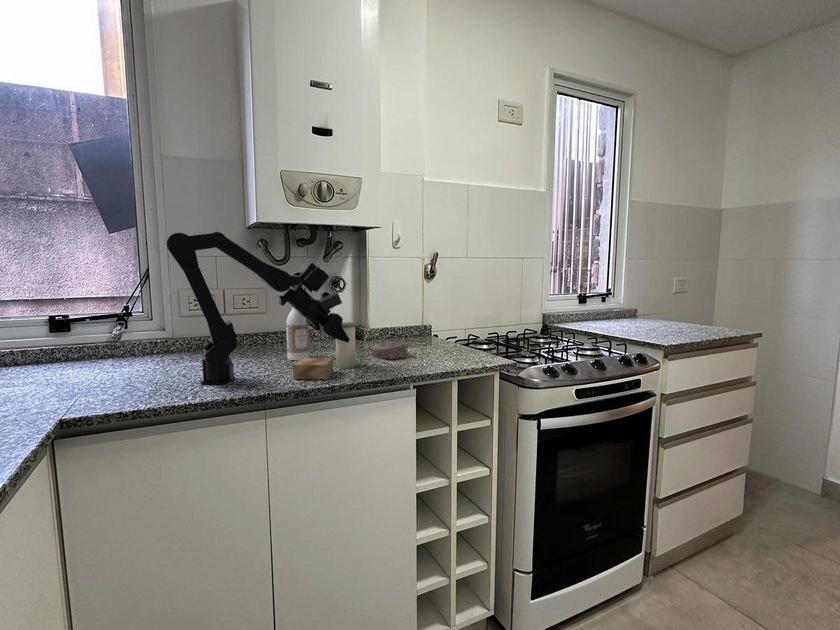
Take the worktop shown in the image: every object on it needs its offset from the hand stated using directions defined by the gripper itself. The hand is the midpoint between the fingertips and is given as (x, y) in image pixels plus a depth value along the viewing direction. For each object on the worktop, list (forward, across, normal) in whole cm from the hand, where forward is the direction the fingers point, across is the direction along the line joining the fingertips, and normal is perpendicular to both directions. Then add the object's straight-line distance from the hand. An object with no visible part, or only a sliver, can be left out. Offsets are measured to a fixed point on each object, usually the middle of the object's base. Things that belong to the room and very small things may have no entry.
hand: (343, 338), depth 131 cm
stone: (+19, +6, -6) cm, 21 cm away
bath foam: (-1, +17, +13) cm, 21 cm away
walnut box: (-2, -6, +14) cm, 15 cm away
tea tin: (+6, 0, +6) cm, 8 cm away
